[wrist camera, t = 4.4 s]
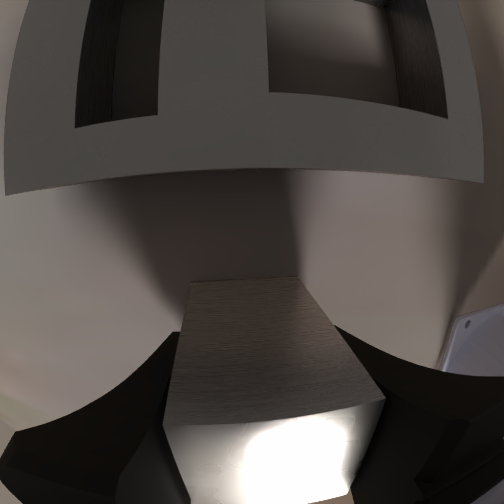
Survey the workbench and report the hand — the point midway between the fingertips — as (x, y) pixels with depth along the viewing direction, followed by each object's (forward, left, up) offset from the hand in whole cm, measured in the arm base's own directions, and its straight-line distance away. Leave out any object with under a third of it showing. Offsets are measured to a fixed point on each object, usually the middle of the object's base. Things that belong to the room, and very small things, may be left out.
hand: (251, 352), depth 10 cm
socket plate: (0, -11, -2) cm, 11 cm away
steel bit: (0, 0, -2) cm, 2 cm away
